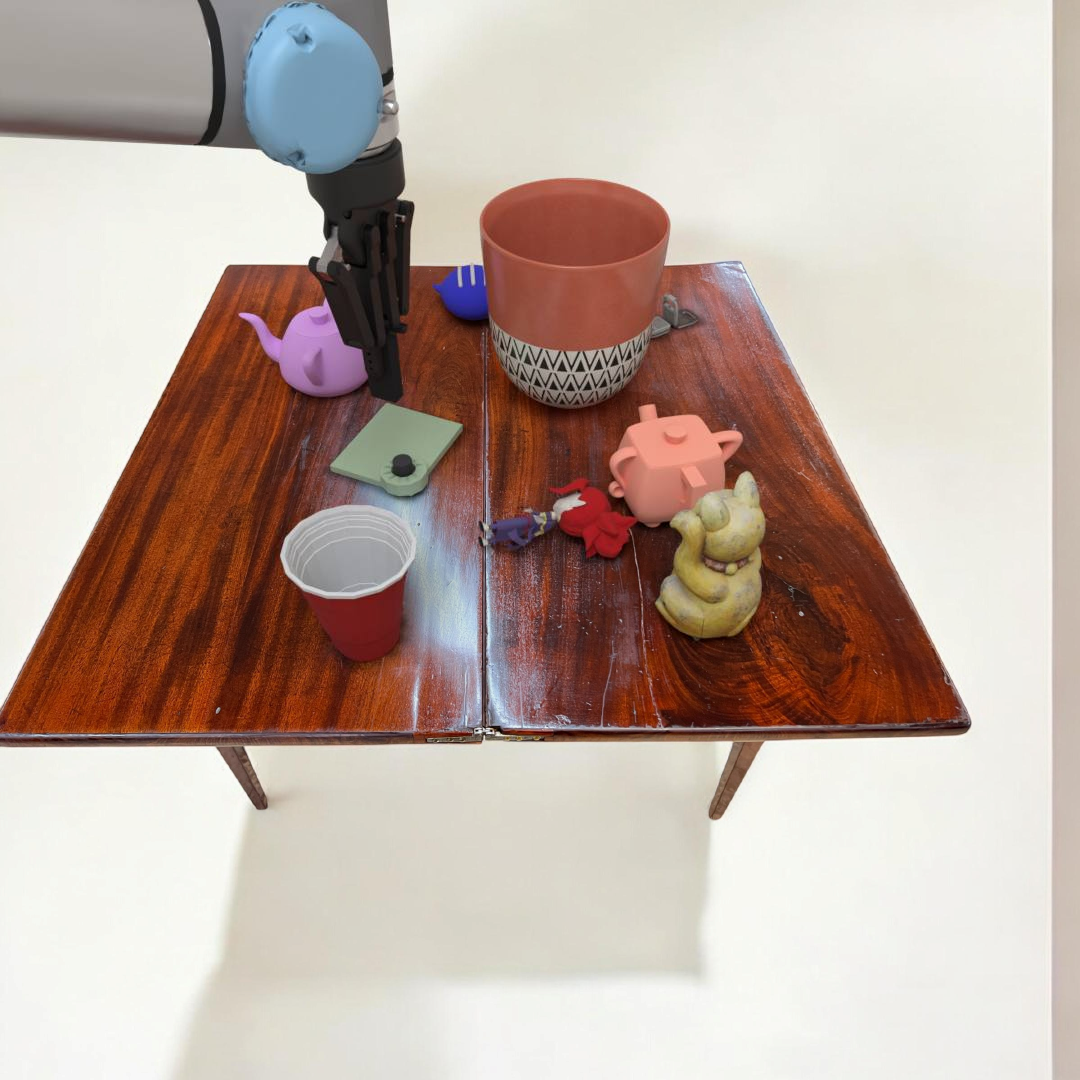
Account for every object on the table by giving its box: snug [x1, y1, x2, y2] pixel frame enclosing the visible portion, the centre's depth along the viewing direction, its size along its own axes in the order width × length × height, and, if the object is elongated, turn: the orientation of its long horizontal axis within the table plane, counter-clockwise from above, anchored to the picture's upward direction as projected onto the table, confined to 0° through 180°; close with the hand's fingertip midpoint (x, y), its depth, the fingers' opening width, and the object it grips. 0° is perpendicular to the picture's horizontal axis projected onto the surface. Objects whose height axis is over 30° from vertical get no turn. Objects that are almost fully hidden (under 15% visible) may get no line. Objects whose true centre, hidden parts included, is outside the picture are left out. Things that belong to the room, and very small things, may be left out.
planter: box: [478, 177, 672, 410], centre depth 95 cm, size 20×20×21 cm
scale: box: [329, 402, 464, 497], centre depth 93 cm, size 13×11×2 cm
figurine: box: [477, 477, 639, 559], centre depth 83 cm, size 6×8×15 cm
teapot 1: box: [238, 297, 368, 398], centre depth 101 cm, size 12×14×9 cm
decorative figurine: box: [654, 470, 766, 642], centre depth 74 cm, size 10×8×15 cm
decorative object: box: [432, 262, 489, 321], centre depth 113 cm, size 10×6×10 cm
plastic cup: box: [279, 504, 417, 662], centre depth 73 cm, size 11×11×12 cm
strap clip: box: [650, 293, 700, 339], centre depth 111 cm, size 8×3×4 cm, turn 121°
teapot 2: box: [608, 403, 744, 528], centre depth 86 cm, size 12×12×10 cm
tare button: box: [392, 454, 413, 477], centre depth 89 cm, size 2×2×2 cm
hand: (387, 395), depth 81 cm, fingers closed
